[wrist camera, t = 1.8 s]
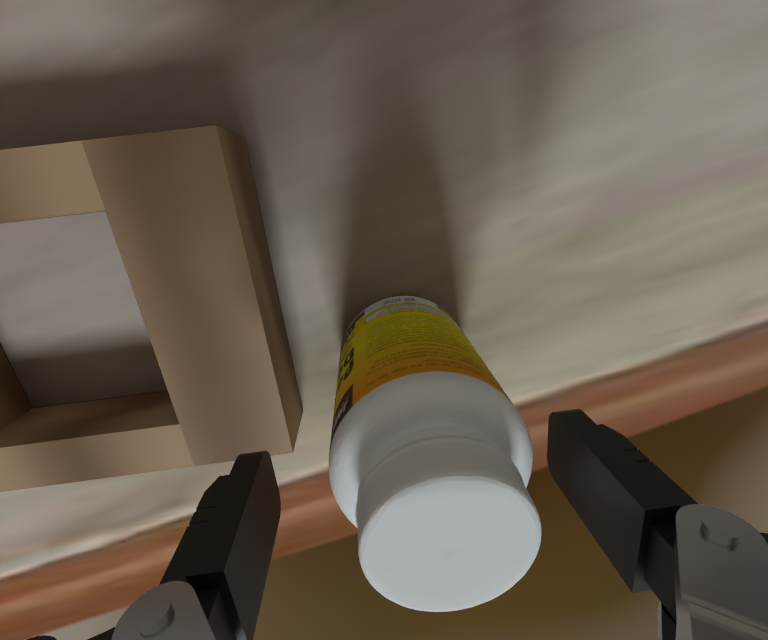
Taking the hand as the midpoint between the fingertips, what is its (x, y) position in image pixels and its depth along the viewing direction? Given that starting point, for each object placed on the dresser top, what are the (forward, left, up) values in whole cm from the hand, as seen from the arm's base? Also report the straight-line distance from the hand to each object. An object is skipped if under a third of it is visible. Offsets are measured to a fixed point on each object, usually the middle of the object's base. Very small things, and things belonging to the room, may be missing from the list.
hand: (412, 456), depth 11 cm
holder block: (+13, -4, -7) cm, 15 cm away
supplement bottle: (0, 0, -7) cm, 7 cm away
